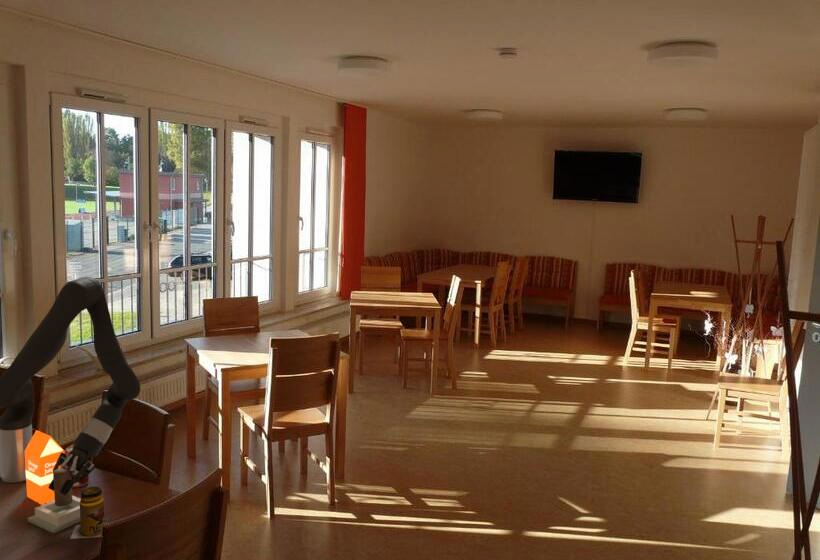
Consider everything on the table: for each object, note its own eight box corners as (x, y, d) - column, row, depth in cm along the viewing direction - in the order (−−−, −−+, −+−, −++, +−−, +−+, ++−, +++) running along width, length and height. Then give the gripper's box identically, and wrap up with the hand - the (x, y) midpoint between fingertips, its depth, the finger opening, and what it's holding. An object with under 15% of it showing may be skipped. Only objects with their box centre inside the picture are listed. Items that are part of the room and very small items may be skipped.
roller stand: (27, 521, 197) (27, 509, 197) (73, 502, 209) (72, 491, 209) (53, 533, 191) (52, 521, 191) (99, 513, 203) (98, 501, 203)
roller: (51, 503, 199) (49, 471, 198) (66, 497, 203) (64, 466, 201) (61, 507, 197) (59, 475, 195) (75, 501, 200) (74, 469, 199)
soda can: (79, 490, 217) (77, 453, 215) (60, 487, 219) (58, 451, 217) (93, 481, 224) (92, 445, 222) (74, 478, 225) (73, 443, 223)
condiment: (103, 536, 190) (101, 495, 189) (69, 539, 189) (67, 497, 187) (108, 523, 198) (107, 483, 196) (76, 526, 196) (74, 485, 194)
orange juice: (52, 487, 218) (48, 426, 215) (67, 496, 213) (64, 433, 210) (26, 496, 212) (22, 433, 209) (41, 505, 207) (38, 440, 204)
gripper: (69, 426, 207) (31, 480, 198) (100, 436, 200) (62, 492, 191) (86, 438, 212) (50, 491, 204) (117, 448, 205) (81, 503, 196)
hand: (56, 491), depth 197 cm, fingers closed on roller, 4 cm apart
